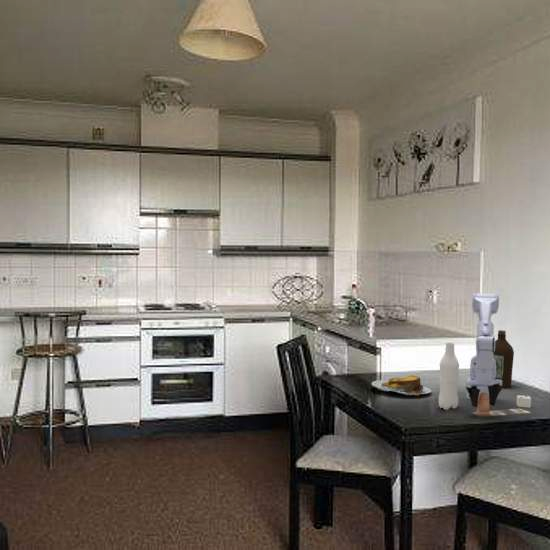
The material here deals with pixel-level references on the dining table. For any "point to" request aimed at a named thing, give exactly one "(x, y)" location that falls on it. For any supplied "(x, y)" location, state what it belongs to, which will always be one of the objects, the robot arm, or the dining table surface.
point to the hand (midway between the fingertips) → (483, 405)
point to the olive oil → (503, 359)
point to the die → (523, 401)
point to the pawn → (483, 404)
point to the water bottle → (448, 378)
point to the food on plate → (402, 385)
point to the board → (505, 412)
